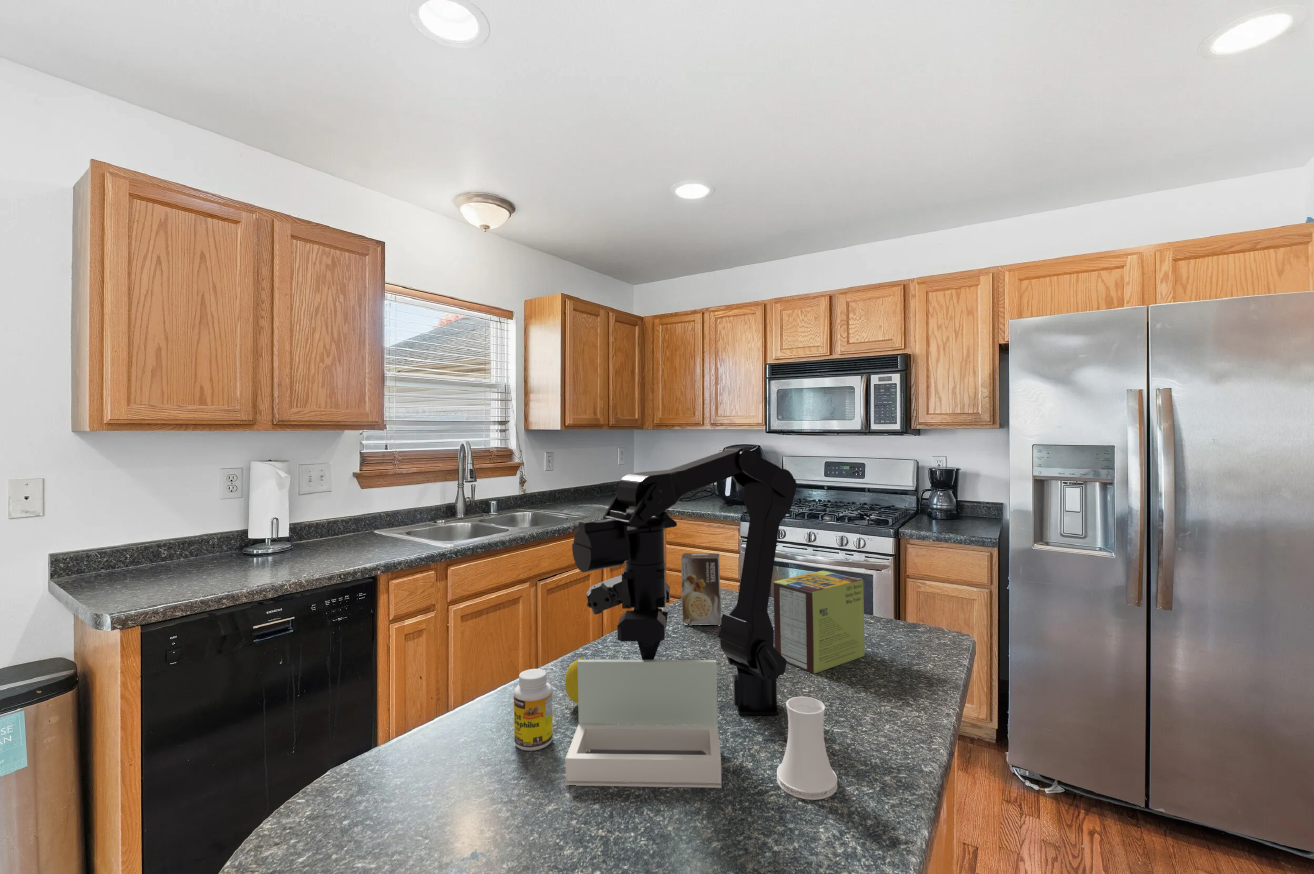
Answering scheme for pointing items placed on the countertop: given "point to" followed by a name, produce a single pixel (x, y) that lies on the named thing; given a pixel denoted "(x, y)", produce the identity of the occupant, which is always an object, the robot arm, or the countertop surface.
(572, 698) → the lemon
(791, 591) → the protein box
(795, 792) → the vase
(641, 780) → the cable duct
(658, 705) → the lid
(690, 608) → the coffee box
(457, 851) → the countertop surface
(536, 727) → the supplement bottle
